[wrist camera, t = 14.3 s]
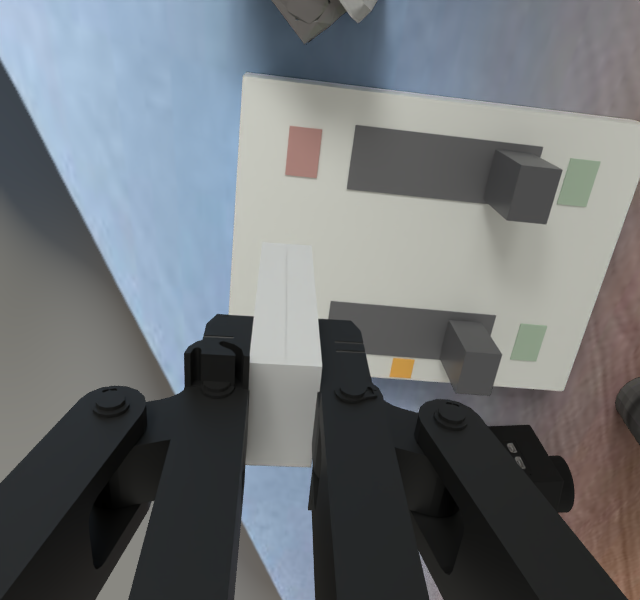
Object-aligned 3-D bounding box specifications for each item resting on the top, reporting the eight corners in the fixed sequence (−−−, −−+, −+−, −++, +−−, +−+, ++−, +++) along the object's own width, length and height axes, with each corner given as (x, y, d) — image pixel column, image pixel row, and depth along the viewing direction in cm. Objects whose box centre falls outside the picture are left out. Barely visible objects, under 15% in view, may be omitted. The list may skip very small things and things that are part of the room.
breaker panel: (245, 72, 37) (242, 76, 34) (632, 119, 39) (658, 127, 36) (229, 345, 45) (225, 367, 42) (547, 370, 48) (564, 391, 45)
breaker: (495, 149, 36) (521, 165, 32) (532, 153, 36) (562, 169, 32) (483, 199, 37) (506, 220, 33) (518, 203, 38) (546, 224, 34)
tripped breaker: (448, 319, 41) (466, 351, 37) (481, 322, 41) (502, 354, 37) (439, 358, 42) (455, 393, 38) (471, 360, 43) (490, 395, 39)
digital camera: (526, 512, 55) (557, 576, 48) (469, 515, 54) (493, 579, 48) (543, 423, 50) (580, 481, 44) (481, 426, 50) (510, 484, 44)
